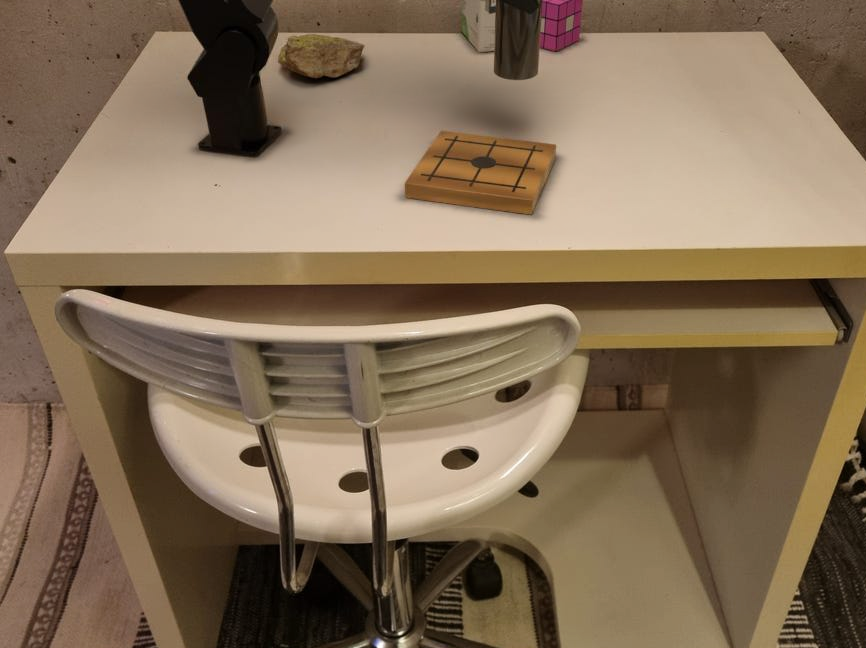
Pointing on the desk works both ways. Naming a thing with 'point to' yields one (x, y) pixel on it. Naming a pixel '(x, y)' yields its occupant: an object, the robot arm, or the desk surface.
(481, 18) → the ink box
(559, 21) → the puzzle toy
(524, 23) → the black round pillar
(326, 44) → the rock
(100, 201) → the desk surface
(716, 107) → the desk surface
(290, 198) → the desk surface
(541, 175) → the game board
